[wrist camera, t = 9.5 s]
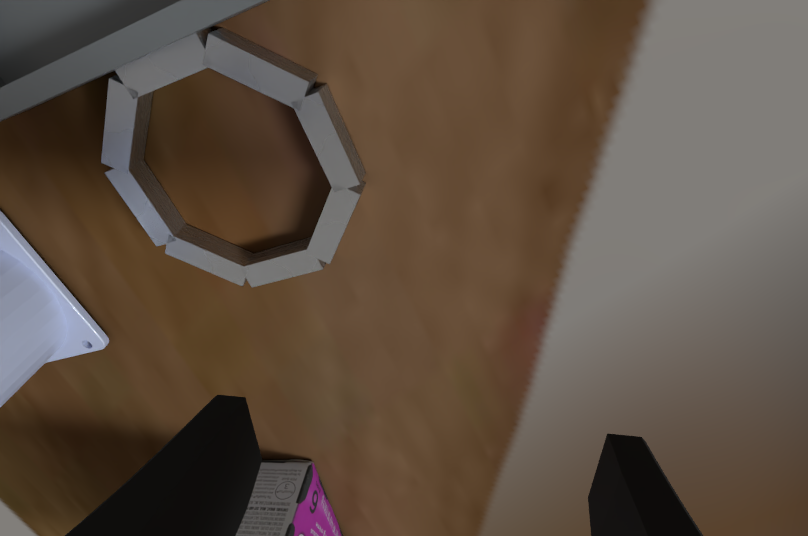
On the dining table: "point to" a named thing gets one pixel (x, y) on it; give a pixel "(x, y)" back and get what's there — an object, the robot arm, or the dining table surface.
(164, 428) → the dining table surface
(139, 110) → the seat ring
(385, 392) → the dining table surface
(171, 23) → the tray
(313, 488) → the candy bar box
